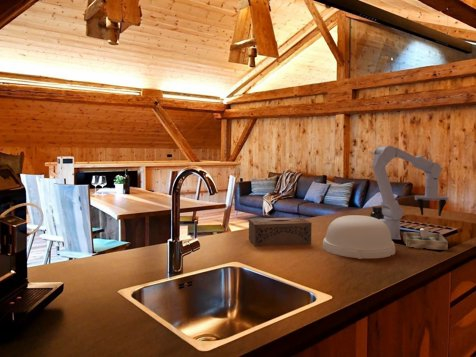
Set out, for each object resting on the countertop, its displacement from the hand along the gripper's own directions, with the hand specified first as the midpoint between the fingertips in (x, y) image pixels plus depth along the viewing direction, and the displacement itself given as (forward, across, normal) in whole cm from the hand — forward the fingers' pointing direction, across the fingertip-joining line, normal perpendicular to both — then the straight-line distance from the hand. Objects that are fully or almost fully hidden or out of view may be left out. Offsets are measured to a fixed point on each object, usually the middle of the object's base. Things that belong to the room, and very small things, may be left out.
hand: (430, 215), depth 197 cm
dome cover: (+11, -33, -34) cm, 49 cm away
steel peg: (+10, -5, -18) cm, 21 cm away
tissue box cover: (+11, -68, -31) cm, 76 cm away
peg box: (+10, -5, -18) cm, 21 cm away
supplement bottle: (+11, -24, +10) cm, 28 cm away
